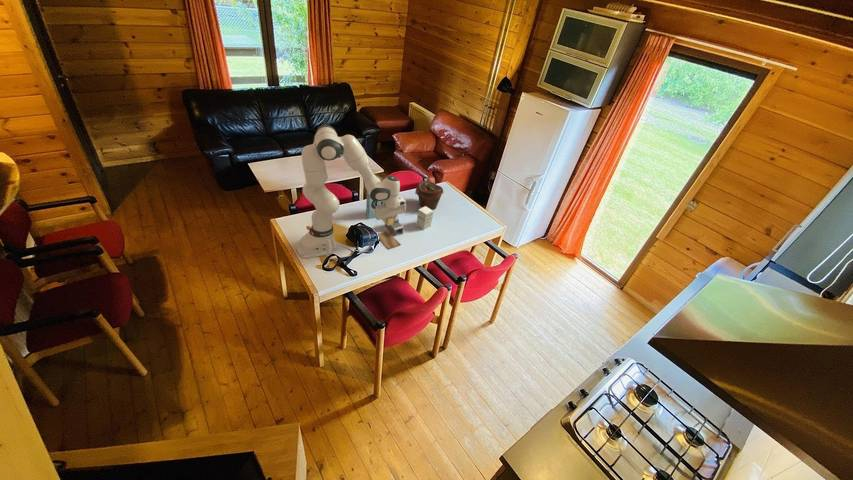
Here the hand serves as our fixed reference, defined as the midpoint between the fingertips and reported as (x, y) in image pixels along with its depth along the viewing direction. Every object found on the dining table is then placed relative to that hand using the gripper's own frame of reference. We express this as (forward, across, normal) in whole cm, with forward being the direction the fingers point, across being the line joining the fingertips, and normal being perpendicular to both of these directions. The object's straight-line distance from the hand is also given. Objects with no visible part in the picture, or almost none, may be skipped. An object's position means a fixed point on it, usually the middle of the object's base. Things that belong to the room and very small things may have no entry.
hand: (389, 221), depth 221 cm
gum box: (+15, +10, +27) cm, 32 cm away
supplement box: (+15, +30, +3) cm, 33 cm away
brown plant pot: (+15, +47, +22) cm, 54 cm away
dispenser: (+15, +9, +7) cm, 19 cm away
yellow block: (+2, 0, +4) cm, 5 cm away
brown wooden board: (+14, 0, 0) cm, 14 cm away
